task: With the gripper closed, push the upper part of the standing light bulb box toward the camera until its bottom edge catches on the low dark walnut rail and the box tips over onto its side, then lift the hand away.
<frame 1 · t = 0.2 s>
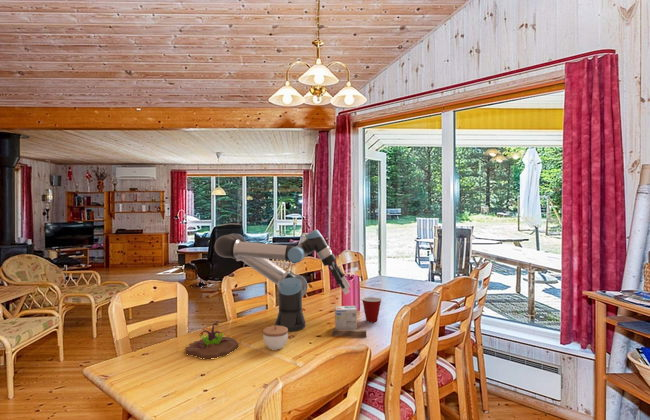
hand: (348, 290, 192), 16 cm above the table, tool tilted 30°, fingers open, 13 cm apart
walnut stop rail: (349, 335, 169), on the table
lidded jar: (275, 348, 156), on the table
plastic cup: (371, 321, 191), on the table
light bulb box: (345, 329, 178), on the table
plant: (213, 350, 154), on the table
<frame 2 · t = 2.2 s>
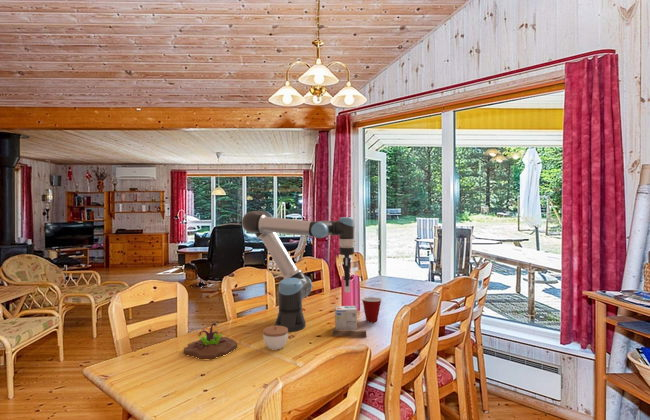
hand: (347, 292, 188), 16 cm above the table, tool pointing down, fingers closed
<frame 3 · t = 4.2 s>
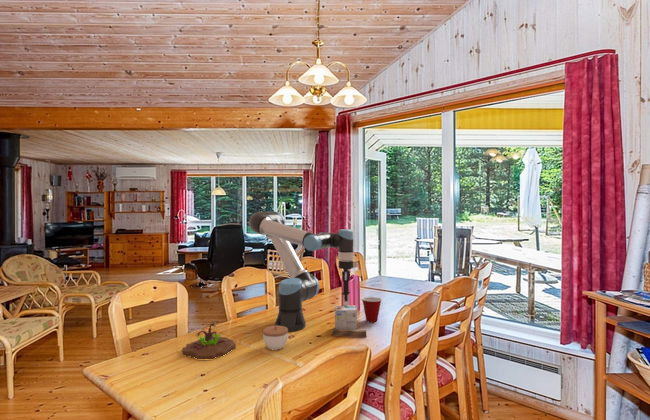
hand: (346, 306, 182), 10 cm above the table, tool pointing down, fingers closed
light bulb box: (345, 328, 178), on the table, touching gripper
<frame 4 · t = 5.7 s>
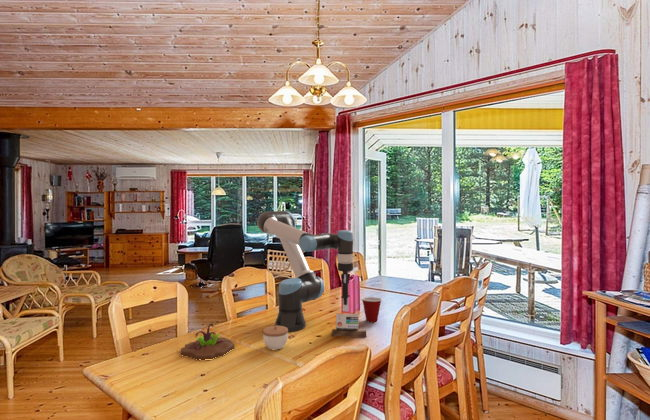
hand: (345, 310, 175), 10 cm above the table, tool pointing down, fingers closed
light bulb box: (347, 324, 177), point 3 cm above the table, touching walnut stop rail
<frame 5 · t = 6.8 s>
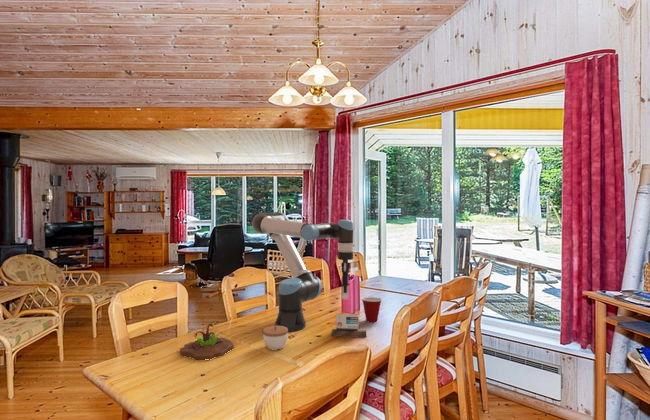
hand: (345, 298, 178), 15 cm above the table, tool pointing down, fingers closed
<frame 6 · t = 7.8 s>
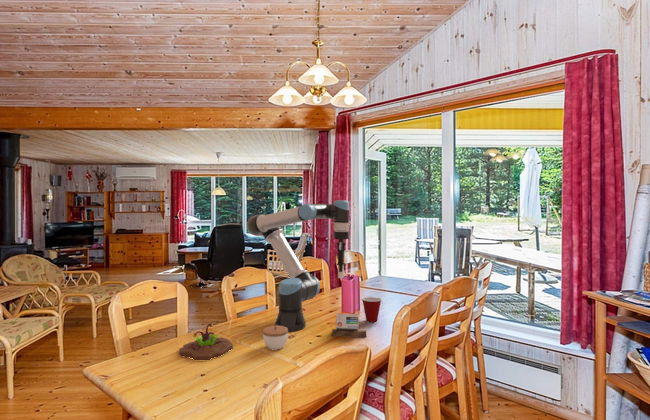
hand: (340, 277, 182), 25 cm above the table, tool pointing down, fingers closed
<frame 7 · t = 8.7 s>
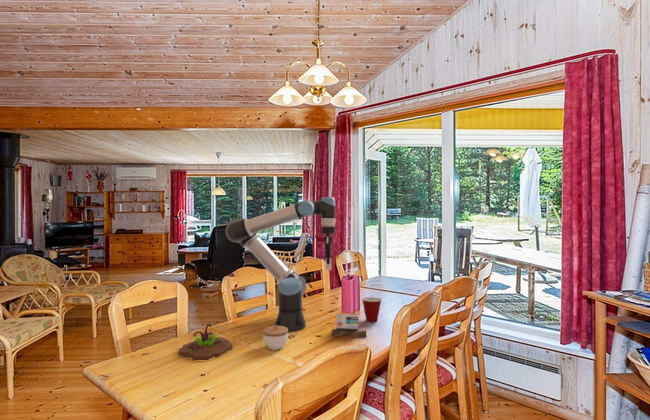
hand: (328, 269, 194), 26 cm above the table, tool pointing down, fingers closed
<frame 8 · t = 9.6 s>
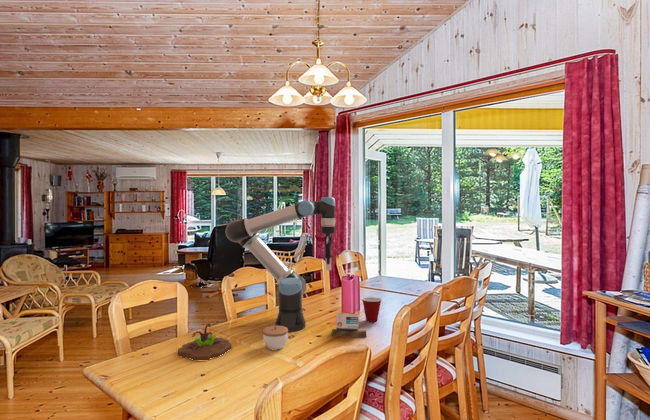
hand: (328, 269, 194), 26 cm above the table, tool pointing down, fingers closed
at the end: light bulb box tilted 65°; light bulb box 8.0 cm from the walnut stop rail (horizontally); the gripper is holding nothing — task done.
